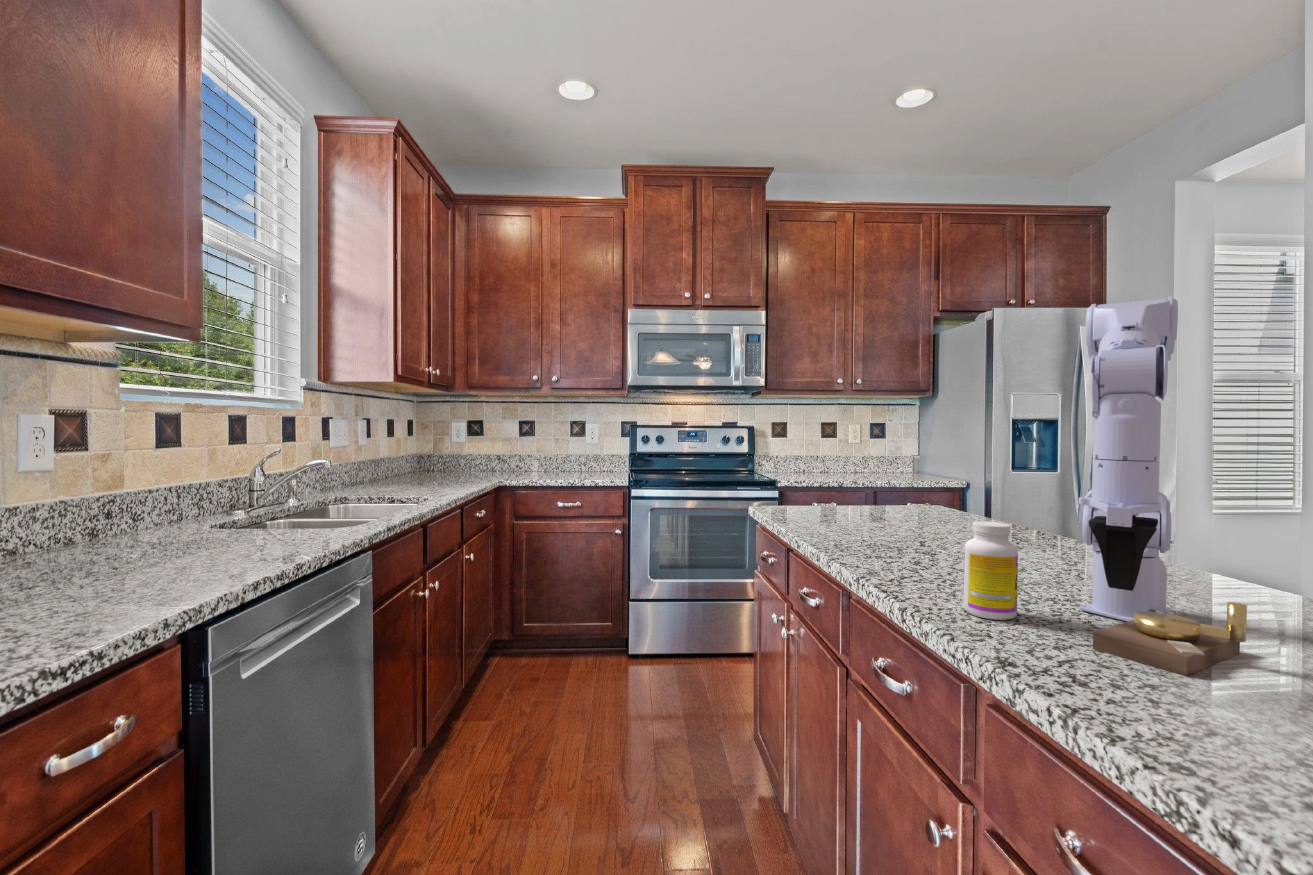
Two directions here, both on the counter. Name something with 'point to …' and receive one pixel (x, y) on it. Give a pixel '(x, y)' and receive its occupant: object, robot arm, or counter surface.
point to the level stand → (1164, 648)
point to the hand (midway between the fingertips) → (1122, 585)
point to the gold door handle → (1193, 625)
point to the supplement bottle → (991, 572)
